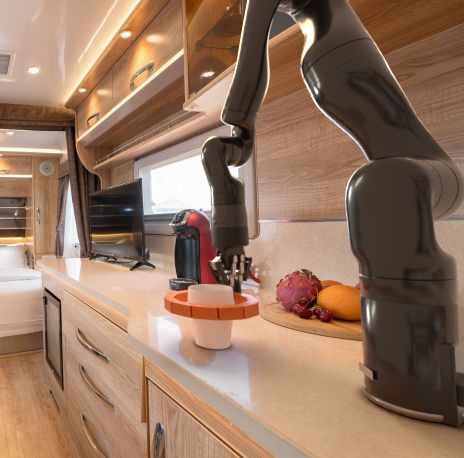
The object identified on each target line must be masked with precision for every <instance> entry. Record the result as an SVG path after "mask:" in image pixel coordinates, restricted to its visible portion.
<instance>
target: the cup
mask: <svg viewBox="0 0 464 458" xmlns="http://www.w3.org/2000/svg"><path fill="white" fill-rule="evenodd" d="M187 290H188V302H187V303H192V304H201V305H216V306H217V305H235V304H234V297H233V288H232V287H230V286H226V285H221V284H217V283H198V284H191V285H188V287H187ZM190 320H191V325H192V330H193V337H194V341H195V344H196V345H197V346H199V347H202V348H204V349H208V350H224V349H228V348H229V347H230V346H231V339H232V331H233V321H234V320H224V321H220V320H217V321H216V320H204V319H193V318H190Z"/></svg>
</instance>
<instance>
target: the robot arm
mask: <svg viewBox="0 0 464 458" xmlns="http://www.w3.org/2000/svg"><path fill="white" fill-rule="evenodd" d="M244 12H245V13H244V18H243V24H242V29H241V34H240V41H239V47H238V53H237V60H236V63H235V69H234V73H233V76H232V79H231V83H230V85H229V89H228V92H227V95H226V98H225V101H224V104H223V107H222V110H221V114H220V120H221V122H222V123H223V124H225V125H228V126H230V127H231V134H230V135H213V136H210V137H209V138H207V139H206V140H205V141H204V143H203V145H202V147H201V150H200V159H201V160H200V162H201V165H202V168H203V171H204V174H205V177H206V180H207V183H208V186H209V189H210V206H211V208H210V234H211V236H210V237H211V245H212V247H214V248H216V251H215V258H214V259H213V260H208V261H207V266H208V268H209V270H210V272H211V275H212V277H213V279H214V282H215V284H218V285H226V286H230V287H232V288H233V297H234V292H239V293H242V285H243V284H244V282H248V279H249V274H250V270H251V267H252V263H253V257H252V256H247V255H246V251H245V247H247V246H249V245H250V234H249V216H248V215H249V214H248V208H247V200H246V199H247V198H246V184H245V181H244V180H243V179H242V178H239V177H236V176H234V175H232V173H231V170H230V169H239V168H241V167H243V166H244V165H246V164H247V163H248V161H250V159H251V157H252V155H253V152H254V148H255V147H254V146H255V138H256V130H257V127H256V126H257V119H258V116H259V114H260V112H261V109H262V106H263V105H264V101H265V98H266V96H267V93H268V89H269V85H270V80H271V79H270V77H271V68H270V57H269V54H270V53H269V41H270V33H271V28H272V25H273V21H274V18H275V16H276V13H277V12H281V13H285V14H287V15H289V16H290V18H292V20H294V22H295V23H296V25H297V27H298V28H299V30H300V32H301V34H302V37H303V46H302V50H301V53H300V54H301V55H300V58H299V59H300V60H299V72H300V76H301V78H302V80H303V82H304V85H305V87H306V89H307V91H308V93H309V95H310V97H311V99H312V101H313V102H314V105H316V107H317V108H318V109H319V111H320V112H321V113H323V114H324V116H326V117H327V118H328V120H330V121H331V122H332V123H333V124H334V125H335V126H336V127H338V128H339V129H340V130H341V131H343V132H344V133H345V134H346V135H347V136H349V137H350V138H351V139H352V141H354V142H355V144H356V145H357V146H358V147H359V148H360V150H361V152H363V154H364V156H365V158H366V160H367V161H366V162H364V163H362V164H361V165H359V166H358V167H357V168H356V169H355V170H354V172H352V175H351V176H350V178H349V180H348V182H347V185H346V188H345V195H344V197H345V199H344V200H345V215H346V223H347V224H346V225H347V233H348V241H349V247H350V251H351V253H352V255H353V257H354V259H355V260H356V263H357V265H358V267H357V268H358V281H359V285H358V286H359V302H360V318H361V319H360V322H361V324H360V325H361V338H362V339H361V341H362V360H363V363H362V362H360V361H358V370H359V371H360V372H362V373H363V383H364V384H363V394H364V395H365V397H366V398H367V399H368V400H370V401H371V402H373V403H374V404H376V405H378V406H380V407H382V408H384V409H386V410H388V411H391V412H393V413H397V414H400V415H403V416H406V417H408V418H409V417H410V418H414V419H418V420H423V421H428V422H435V423H441V424H445V425H450V426H453V427H457V428H458V427H460V426H461V425H462V423H463V422H464V336H463V335H462V334H461V332H462V331H461V330H462V329H461V314H460V295H459V279H458V277H459V274H458V262H457V259H456V257H455V256H454V255H452V254H451V253H449V252H448V251H446V250H444V249H443V247H442V246H441V245H440V244H439V242H438V240H437V236H436V230H435V223H437V222H440V221H444V220H446V219H448V218H450V217H451V216H453V215H455V214H456V213H457V212H458V211H459V210H460V209H461V207H462V206H463V204H464V173H463V172H462V170H461V168H460V167H459V166H458V164H457V162H455V160H454V159H453V158H452V157H451V155H449V154H448V152H447V151H446V150H445V149H444V148H443V146H441V144H440V143H439V142H438V141H437V140H436V138H435V137H434V136H433V135H432V133H431V132H430V131H429V130H428V128H427V127H426V126H425V124H424V123H423V122H422V121H421V119H420V118H419V116H418V115H417V113H416V112H415V110H414V108H413V107H412V104H411V102H410V101H409V99H408V96H406V93H405V92H404V90H403V88H402V87H401V85H400V83H399V82H398V81H397V78H396V77H395V75H394V74H393V72H392V70H391V68H390V66H389V65H388V63H387V61H386V59H385V57H384V56H383V54H382V52H381V51H380V49H379V46H378V45H377V44H376V42H375V41H374V39H373V38H372V37H371V35H370V33H369V32H368V31H367V29H366V27H365V26H364V25H363V23H362V21H361V19H360V17H358V14H357V13H356V11H355V10H354V9H353V7H352V6H351V4H350V3H349V2H348V0H247V2H246V8H245V11H244ZM234 302H235V300H234Z"/></svg>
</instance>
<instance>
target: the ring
mask: <svg viewBox="0 0 464 458" xmlns="http://www.w3.org/2000/svg"><path fill="white" fill-rule="evenodd" d="M234 300H235V302H234V305H217V306H216V305H201V304H192V303H188V289H184V290H177V291H172V292H168V293H167V294H166V295H164V296H163V303H164V309H165V310H166V311H167V312H169V313H170V314H172V315H176V316H180V317H184V318H188V319H191V318H193V319H204V320H216V321H217V320H220V321H224V320H233V321H242V320H248V319H252V318H254V317H258V316H259V315H260V305H259V297H256V296H254V295H251V294H248V293H244V292H241V293H239V292H234Z"/></svg>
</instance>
